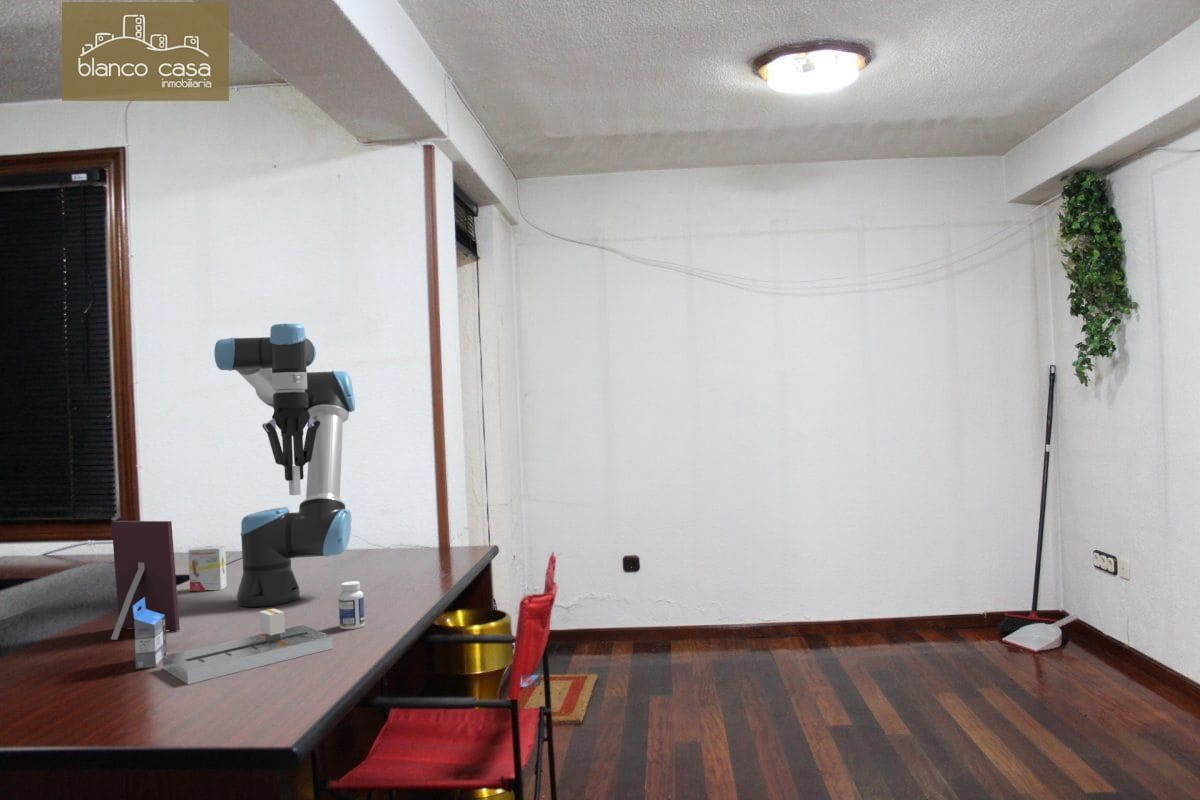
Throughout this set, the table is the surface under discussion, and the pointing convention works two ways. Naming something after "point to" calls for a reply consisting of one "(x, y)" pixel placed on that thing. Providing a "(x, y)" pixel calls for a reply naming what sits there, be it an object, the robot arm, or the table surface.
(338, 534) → the robot arm
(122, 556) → the picture frame
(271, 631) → the fader knob
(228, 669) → the console
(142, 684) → the table surface
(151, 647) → the label tape cartridge
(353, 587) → the pill bottle
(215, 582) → the ink box
